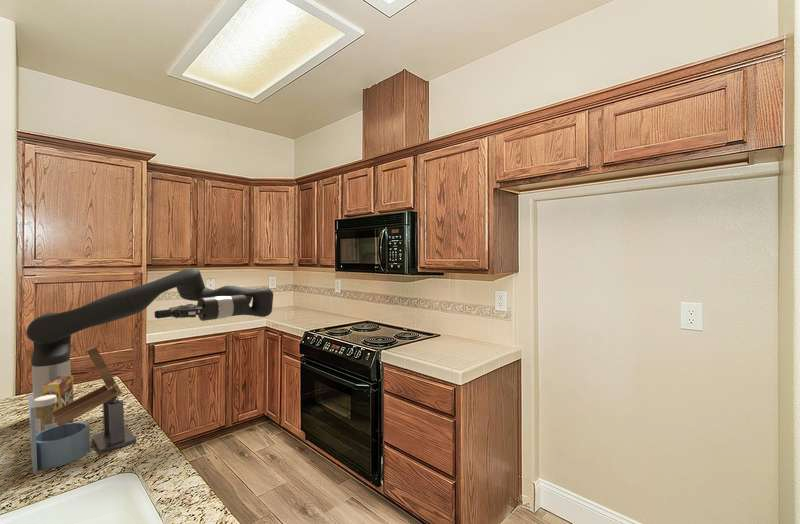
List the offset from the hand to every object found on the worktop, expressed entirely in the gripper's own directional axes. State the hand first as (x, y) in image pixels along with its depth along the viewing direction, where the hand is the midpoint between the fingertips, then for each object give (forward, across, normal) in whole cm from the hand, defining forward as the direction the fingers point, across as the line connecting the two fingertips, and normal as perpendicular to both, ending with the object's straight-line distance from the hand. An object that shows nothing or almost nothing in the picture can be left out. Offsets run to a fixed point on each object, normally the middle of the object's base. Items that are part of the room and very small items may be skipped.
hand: (155, 314), depth 112 cm
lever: (+15, 0, +24) cm, 29 cm away
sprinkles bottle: (+24, -11, +34) cm, 43 cm away
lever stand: (+11, 0, +34) cm, 36 cm away
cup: (+22, 0, +34) cm, 40 cm away
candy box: (+21, -20, +34) cm, 45 cm away
